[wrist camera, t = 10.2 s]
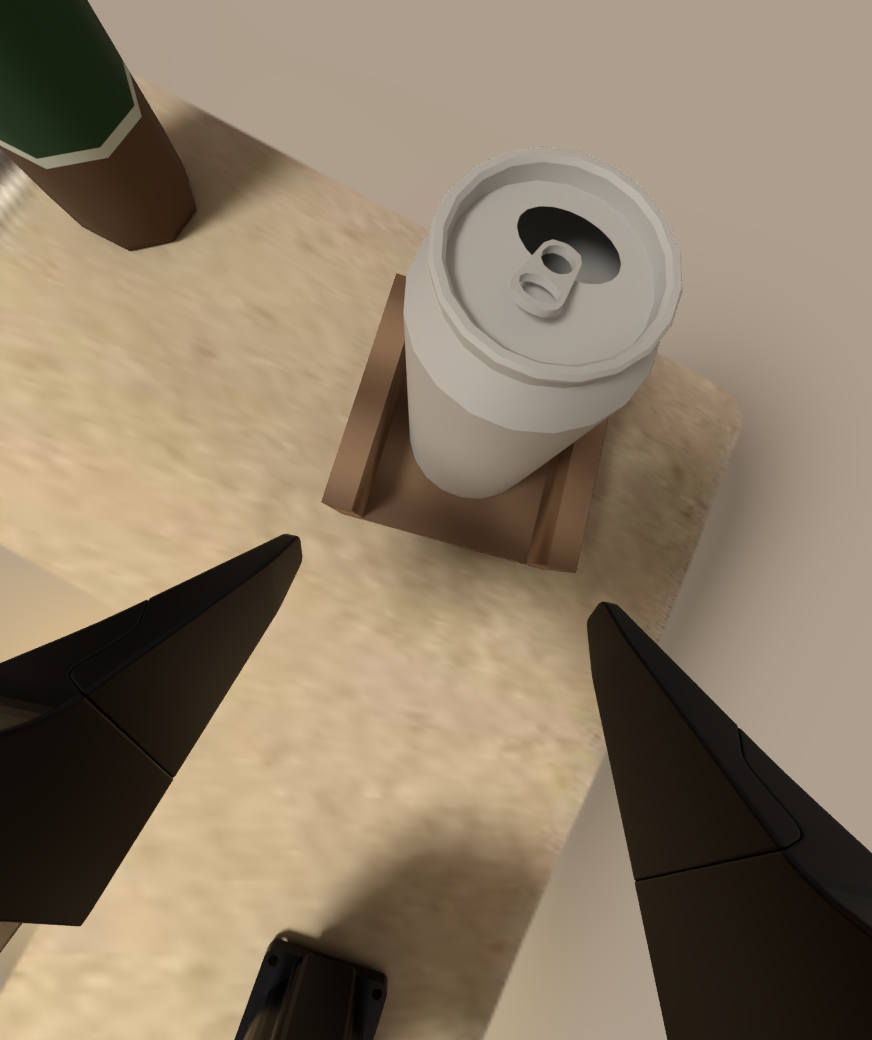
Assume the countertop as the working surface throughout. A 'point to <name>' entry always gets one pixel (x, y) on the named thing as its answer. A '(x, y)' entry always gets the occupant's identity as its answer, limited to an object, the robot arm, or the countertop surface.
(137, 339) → the countertop surface
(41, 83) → the beer bottle
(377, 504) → the brown wooden square tray
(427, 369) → the can
